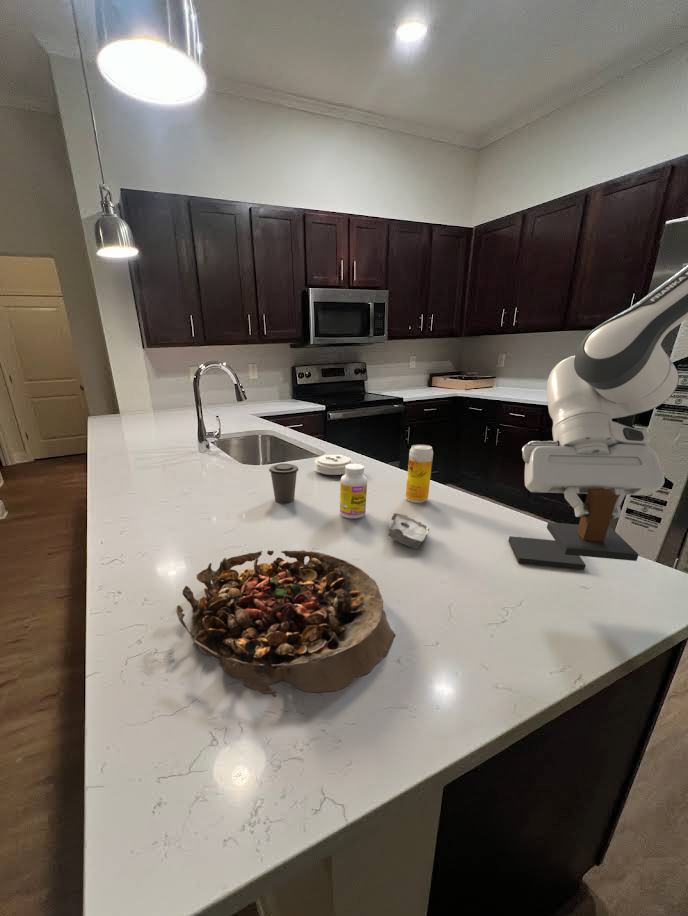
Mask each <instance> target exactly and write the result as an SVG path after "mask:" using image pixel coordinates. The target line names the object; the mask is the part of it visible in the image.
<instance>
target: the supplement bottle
mask: <svg viewBox="0 0 688 916" xmlns="http://www.w3.org/2000/svg"><path fill="white" fill-rule="evenodd" d="M345 472H346V474H342V476H341V478H340V487H339V492H340V493H339V515H340V516H342V517H344V518H347V519H352V520H353V519H355V520H356V519H360V518H362V517H364V516H365V514H366V507H367V492H368V478H367V477H366V475H364V472H365V466H364V464H363V465H362V464H360V463H353V464H348V465H346V466H345Z"/></svg>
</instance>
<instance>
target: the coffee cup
mask: <svg viewBox="0 0 688 916" xmlns="http://www.w3.org/2000/svg"><path fill="white" fill-rule="evenodd" d="M268 471H269V473H270V475H271V483H272V489H273V494H274V501H275V502H276V503H280V504H289V503H292V502H294V501H295V493H296V483H297V474H298V471H299V467H298V466H297V465H296V464H291V463H278V464H273V465H271V466H270V467H269V468H268Z"/></svg>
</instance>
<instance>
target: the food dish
mask: <svg viewBox="0 0 688 916" xmlns="http://www.w3.org/2000/svg"><path fill="white" fill-rule="evenodd" d="M263 552H264V550H262V551H261V550H260V551H257V552H249V553H245V554H241V555H236V556H231V557H229V558H226V557H224V558H223V559H222V560H221V561H219V567H218V569H216V570H213V569H212V563H211V562H210V563H208V566H207V568H204V569H203V570H201V571H200V572H199V573H197V574H196V579H197V581H198V582H199V583H202V584H204V586H205V587H204V589H203V590H204V595H205V596H202V597H200V598H199V599H198V600H197V599H196V598H195V596H194V592H193V591H192V590H191V587H189V586H188V585H185V586H184V588H183V589H182V596H183V597H184V598H185V600H186V601H187V602H188V603H189V604H190V606H191V609H192V613H193V614H192V616H191V625H190V627H189V628H188V627H187V625H186V623H185V621H184V617H185V613H183V612H184V609H183V608H182V606H181V605H179V604H178V605H176V610H175V611H176V616H177V618H178V621H179V623H180V624H181V625H182V627H183V628H185V630H186V631H187V632H188V634H189V636H190V637H191V639H192V640H193V646H194V647H195V648H197V649H198V650H199V652H200V653H202V654H205V656H207V655H208V656H213V657H214V658H217V659H219V664H220V666H221V667H223V671H224V672H225V673H226V674H227V675H230V676H231V677H233V678H236V679H238V680H241V681H242V684H243V685H244V686H245V687H247V688H250V689H252V690H255V691H259V692H261V694H265V695H266V694H271V695H272V696H273V697H276V696H277V695H276V694H275V693H276V691H273V690H272V688H271V687H270V685H275V684H277V683H278V682H280V681H283V682H288V683H290V684H293V685H294V687H295V689H298V690H301V691H303V692H305V693H315V694H316V693H324V692H325V693H326V692H333V691H334V692H338V691H339V690H342V689H345V688H346V687H347V686H348V685H350V684H351V683H352V682H353V681H354V680H355V679H356V678H359V677H361V676H364V675H368V674H370V673H371V671H372V670H373V669H374V667H375V666H376V665H377V664H379V663H380V662H381V661H382V659H383V658H385V657H386V656H387V654H388V653H389V652H390V651H389V650H390V649H391V647H392V644H393V642H394V639H395V637H396V636H397V634H396V633H395V632H394V630H393V629H392V627H391V625H390V622H388V618H387V613H386V611H385V610H384V599H383V596H382V594H381V592H380V588H379V585H378V584H377V582H376V580H375V579H374V578H372V577H370V575H369V574H368V573H366V572H365V571H364V570H363V569H362V568H360V567H359V566H357V565H355V564H353V563H350V562H348V561H347V560H344V559H341V558H338V557H335V556H332V555H330V554H325V553H323V552H322V553H321V552H317V551H308V550H307V551H306V550H282V551H280V553H282V554H284V556H285V557H288V558H290V559H295V561H292V562H289V561H287V560H284V559H283V558H281V557H277V558H276V559H274V560H273V561H272V562H271V563H270V564H269V563H265V562H264V563H259V564H258V562H259V558H260V557H261V556H262V555H263ZM266 553H267V555H268V556H272V555H273V554H274V553H275V551H274V550H267V551H266ZM306 557H308V558H309V560H308V561H307V562H306V564H305V559H306ZM253 561H254V562H253ZM247 562H253V568H252V569H251V568H245V569H242V570H241V573H239V572H238V571H237V570H236V569H232V568H233V567H237V566H242V565H244V564H245V563H247ZM189 630H190V631H189Z"/></svg>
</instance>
